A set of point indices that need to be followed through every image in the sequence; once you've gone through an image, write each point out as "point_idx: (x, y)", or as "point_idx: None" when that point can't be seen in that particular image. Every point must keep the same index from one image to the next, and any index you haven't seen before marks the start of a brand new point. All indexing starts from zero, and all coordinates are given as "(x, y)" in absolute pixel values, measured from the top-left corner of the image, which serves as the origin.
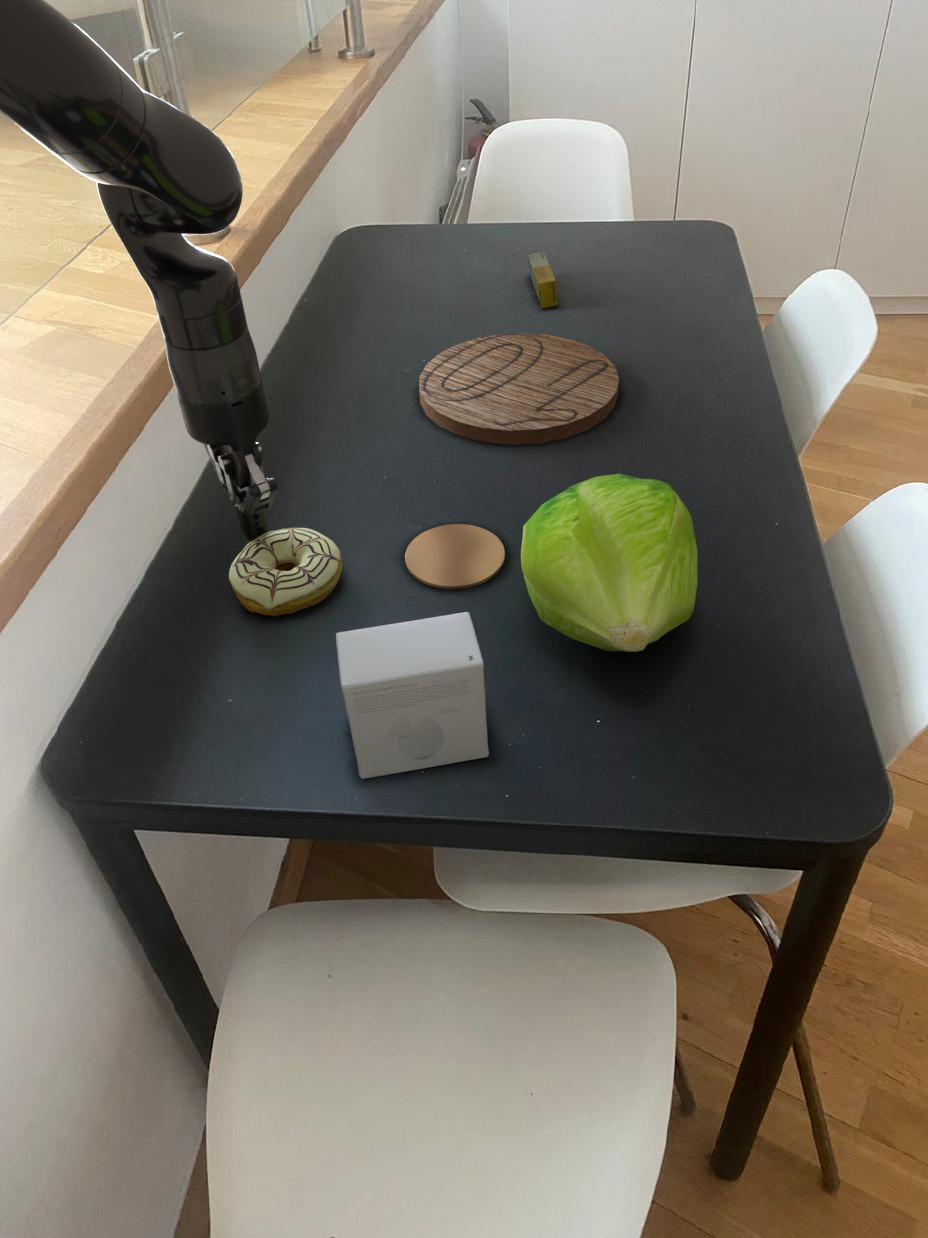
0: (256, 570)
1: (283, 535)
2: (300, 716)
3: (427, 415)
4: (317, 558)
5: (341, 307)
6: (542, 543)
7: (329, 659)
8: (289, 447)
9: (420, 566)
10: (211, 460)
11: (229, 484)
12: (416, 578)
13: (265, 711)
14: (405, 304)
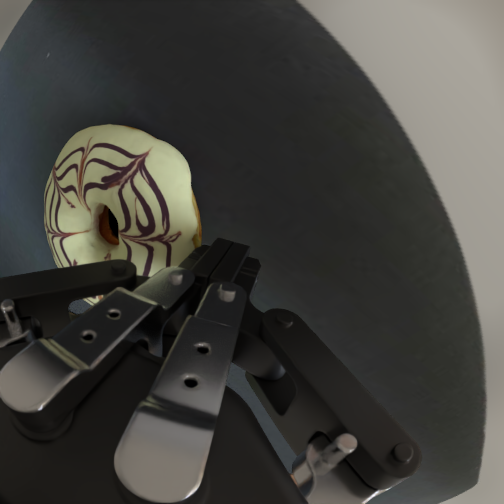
0: (86, 175)
1: None
2: (9, 109)
3: (292, 474)
4: (66, 266)
5: (449, 479)
6: None
7: (27, 168)
8: (398, 412)
9: None
10: (353, 388)
11: (99, 314)
12: (71, 313)
13: (24, 82)
14: (405, 497)
